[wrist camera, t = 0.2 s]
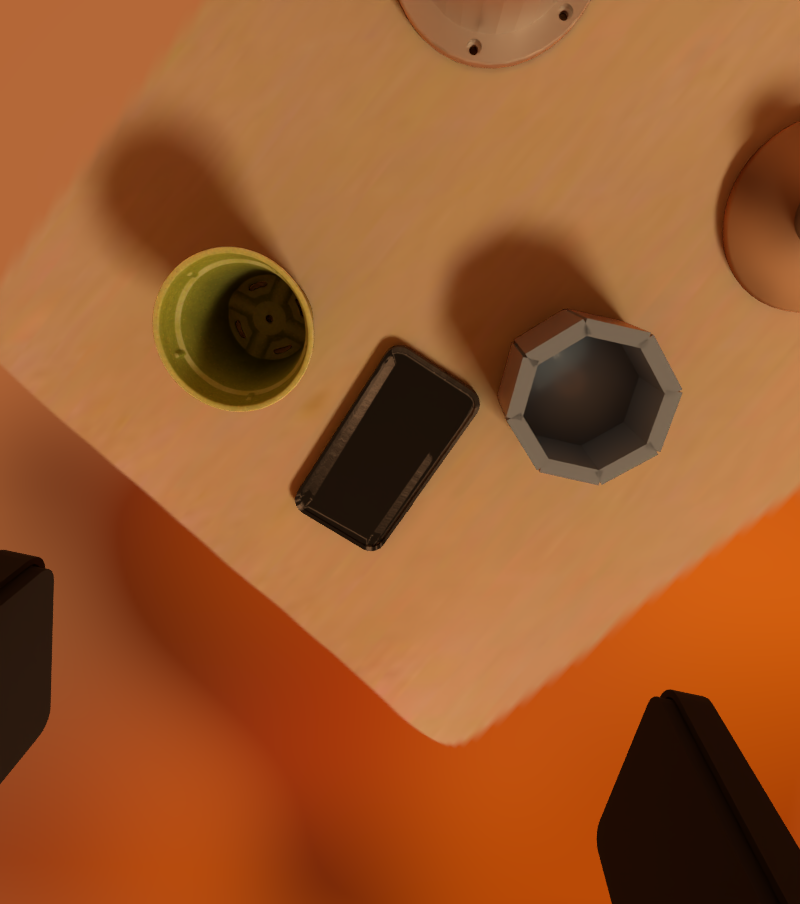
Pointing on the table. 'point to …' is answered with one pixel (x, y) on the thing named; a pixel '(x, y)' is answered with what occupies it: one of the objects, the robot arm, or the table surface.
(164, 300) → the plant pot
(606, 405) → the bowl
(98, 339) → the table surface
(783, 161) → the lid
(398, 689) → the table surface
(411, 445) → the phone
